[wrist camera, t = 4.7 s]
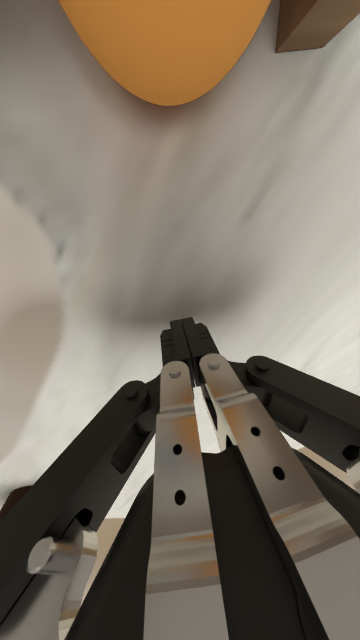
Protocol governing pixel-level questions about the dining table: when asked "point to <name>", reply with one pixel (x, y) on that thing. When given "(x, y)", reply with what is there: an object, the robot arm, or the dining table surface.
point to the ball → (166, 42)
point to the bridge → (312, 22)
